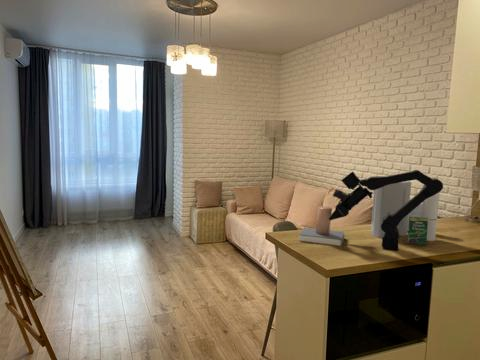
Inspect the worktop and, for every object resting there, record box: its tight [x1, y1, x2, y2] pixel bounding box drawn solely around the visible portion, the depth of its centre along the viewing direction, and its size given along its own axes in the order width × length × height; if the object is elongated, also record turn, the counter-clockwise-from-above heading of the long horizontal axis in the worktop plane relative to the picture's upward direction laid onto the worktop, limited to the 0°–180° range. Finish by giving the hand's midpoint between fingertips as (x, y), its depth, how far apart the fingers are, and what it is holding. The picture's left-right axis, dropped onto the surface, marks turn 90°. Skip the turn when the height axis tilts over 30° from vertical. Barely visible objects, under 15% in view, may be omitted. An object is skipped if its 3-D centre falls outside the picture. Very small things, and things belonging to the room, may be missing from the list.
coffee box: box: [407, 217, 428, 247], centre depth 172 cm, size 8×3×13 cm, turn 68°
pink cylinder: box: [315, 205, 333, 235], centre depth 174 cm, size 6×6×12 cm
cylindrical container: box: [421, 191, 441, 242], centre depth 180 cm, size 7×7×25 cm
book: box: [298, 227, 345, 247], centre depth 175 cm, size 20×14×4 cm
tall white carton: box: [370, 181, 412, 239], centre depth 190 cm, size 19×15×28 cm
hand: (330, 217), depth 173 cm, fingers open, 9 cm apart
